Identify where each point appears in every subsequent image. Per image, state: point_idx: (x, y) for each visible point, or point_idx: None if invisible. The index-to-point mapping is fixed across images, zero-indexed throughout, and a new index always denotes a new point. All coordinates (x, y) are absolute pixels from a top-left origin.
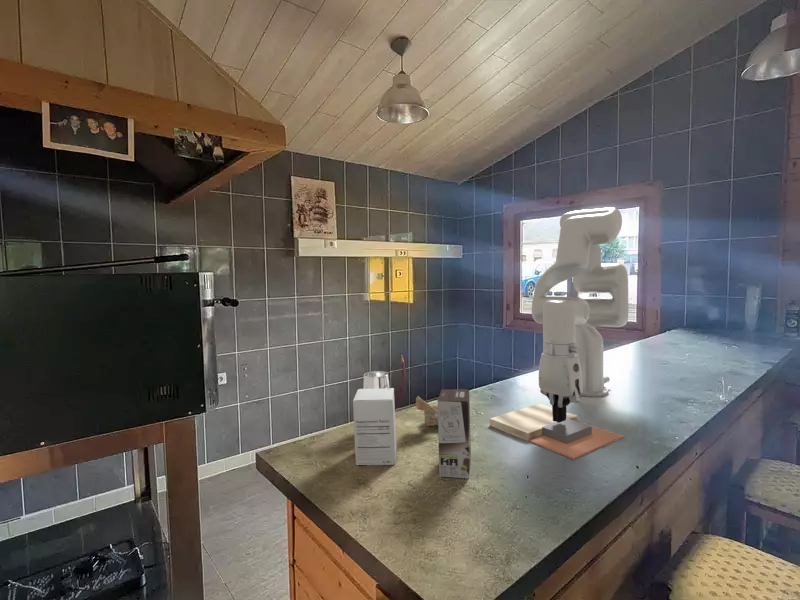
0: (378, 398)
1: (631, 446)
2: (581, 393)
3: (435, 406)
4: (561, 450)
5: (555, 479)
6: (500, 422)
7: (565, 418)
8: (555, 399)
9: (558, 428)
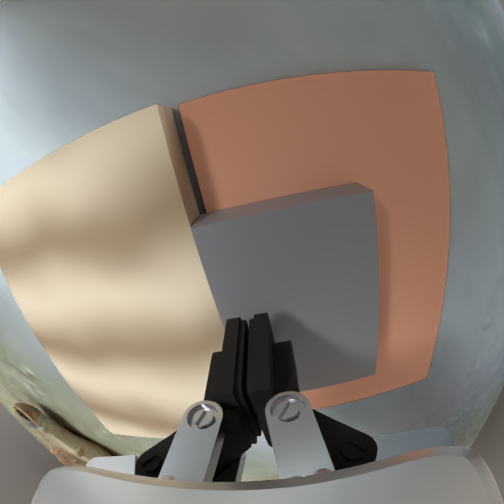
0: None
1: (487, 139)
2: (470, 453)
3: (62, 461)
4: (383, 384)
5: (430, 424)
6: (149, 436)
7: (291, 342)
8: (220, 457)
9: (301, 363)
